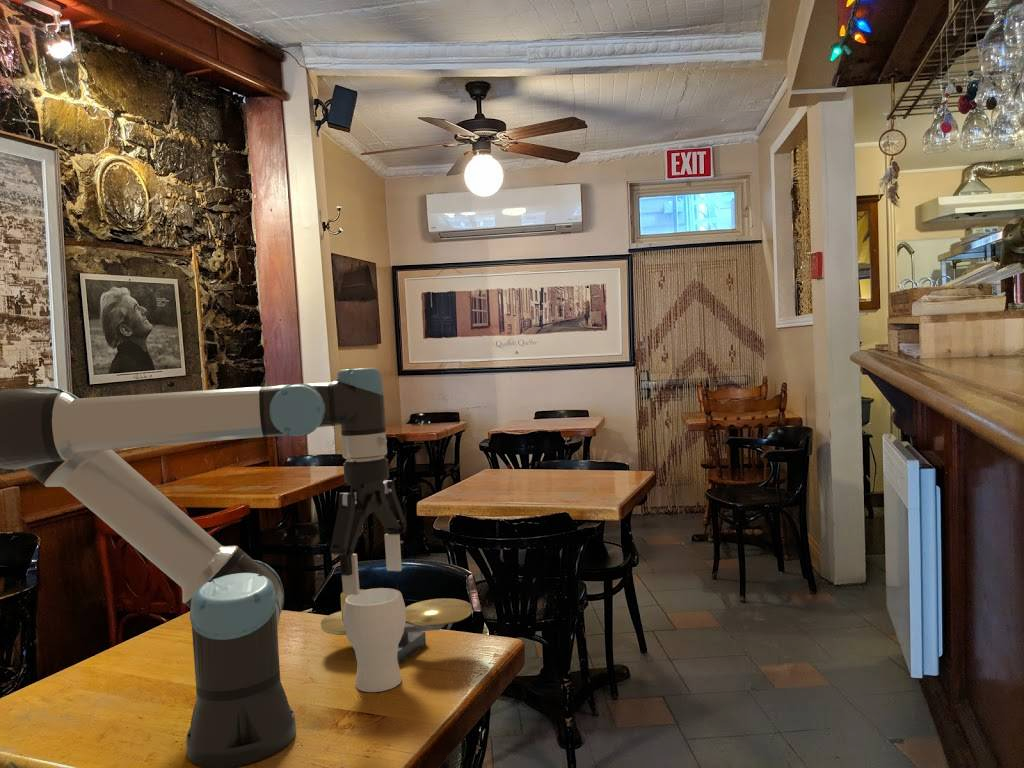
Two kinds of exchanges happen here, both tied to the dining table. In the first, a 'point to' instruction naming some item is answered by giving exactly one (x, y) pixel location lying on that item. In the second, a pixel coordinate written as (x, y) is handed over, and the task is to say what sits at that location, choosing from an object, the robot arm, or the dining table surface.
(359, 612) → the cup
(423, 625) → the balance
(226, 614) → the robot arm
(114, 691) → the dining table surface
